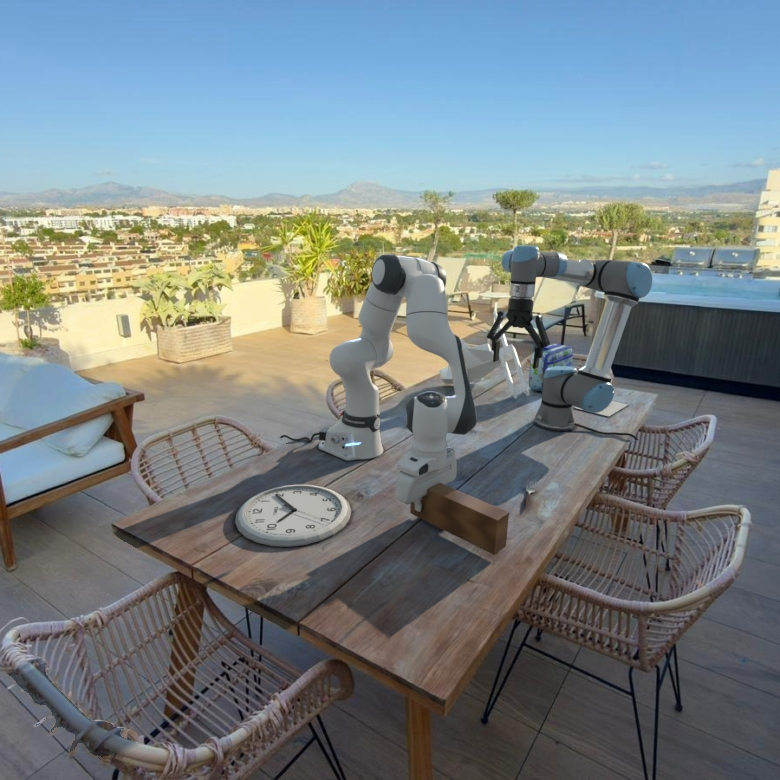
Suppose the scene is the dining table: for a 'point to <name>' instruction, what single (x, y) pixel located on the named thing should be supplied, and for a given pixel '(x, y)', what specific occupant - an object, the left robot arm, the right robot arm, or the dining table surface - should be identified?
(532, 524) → the dining table surface
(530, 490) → the fork
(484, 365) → the white plastic object
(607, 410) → the invitation card
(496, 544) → the bar
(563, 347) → the lunch box
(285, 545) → the wall clock
